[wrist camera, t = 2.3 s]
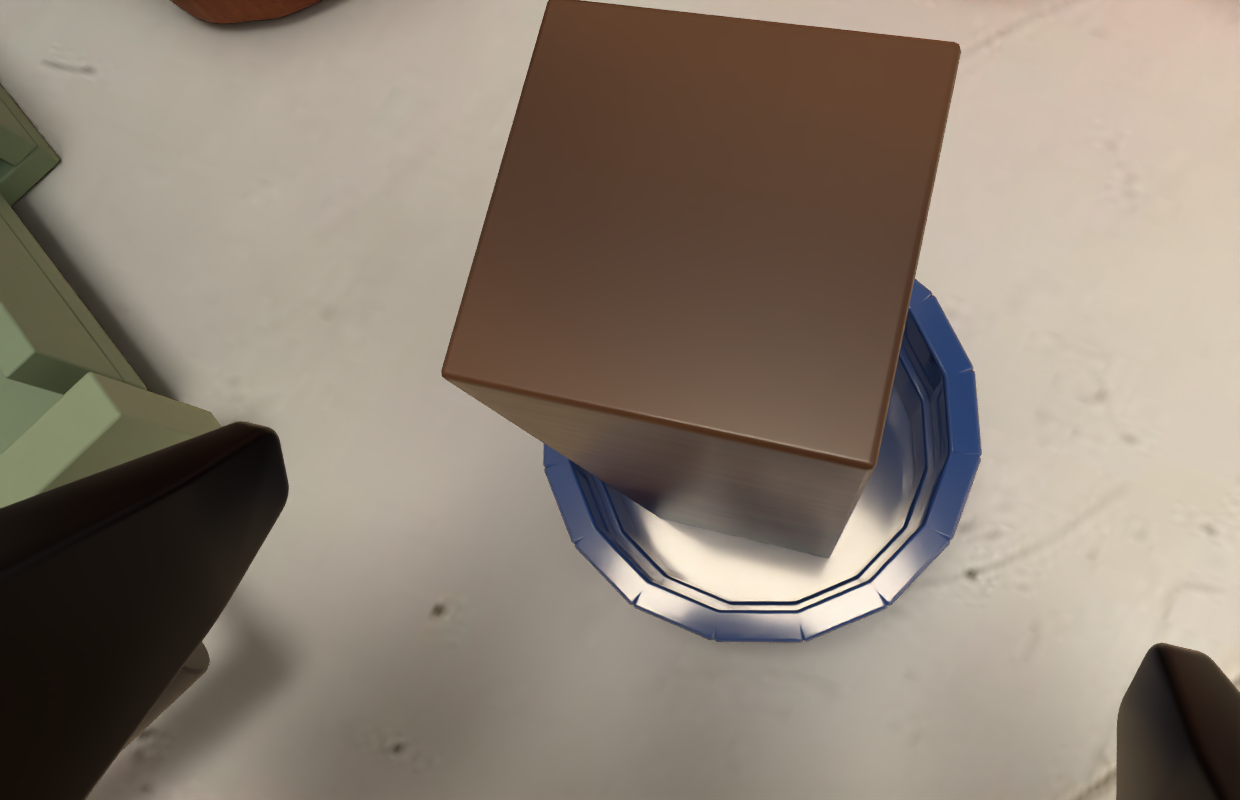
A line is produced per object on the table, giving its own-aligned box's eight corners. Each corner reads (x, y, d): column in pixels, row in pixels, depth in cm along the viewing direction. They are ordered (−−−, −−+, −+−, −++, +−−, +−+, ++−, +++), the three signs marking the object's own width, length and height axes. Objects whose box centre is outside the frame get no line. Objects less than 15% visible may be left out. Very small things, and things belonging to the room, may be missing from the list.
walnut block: (830, 558, 18) (875, 471, 7) (657, 517, 19) (436, 376, 8) (866, 387, 19) (963, 39, 7) (696, 353, 20) (547, -8, 8)
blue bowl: (871, 695, 18) (889, 718, 14) (540, 553, 20) (478, 540, 16) (993, 356, 19) (1041, 292, 15) (666, 249, 21) (637, 168, 17)
